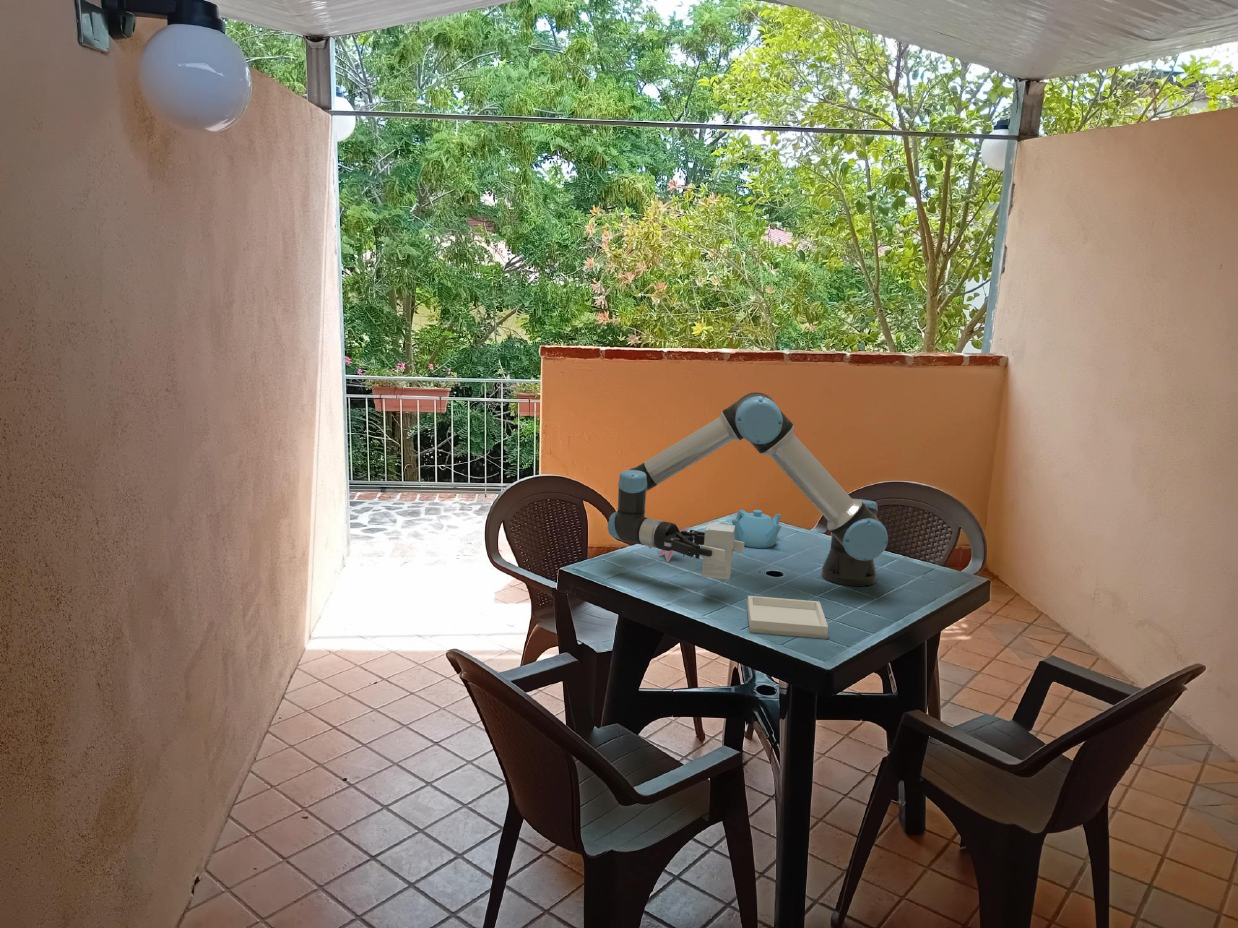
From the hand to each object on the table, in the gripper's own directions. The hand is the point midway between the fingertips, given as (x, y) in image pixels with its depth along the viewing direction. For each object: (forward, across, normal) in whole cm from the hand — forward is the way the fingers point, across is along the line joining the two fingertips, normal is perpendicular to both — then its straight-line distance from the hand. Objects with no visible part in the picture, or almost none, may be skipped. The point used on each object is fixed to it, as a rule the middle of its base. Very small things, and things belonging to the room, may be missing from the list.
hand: (734, 551), depth 239 cm
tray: (+17, +3, -14) cm, 22 cm away
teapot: (-22, -57, -14) cm, 63 cm away
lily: (-33, -24, -14) cm, 43 cm away
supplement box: (-4, 0, -7) cm, 9 cm away
